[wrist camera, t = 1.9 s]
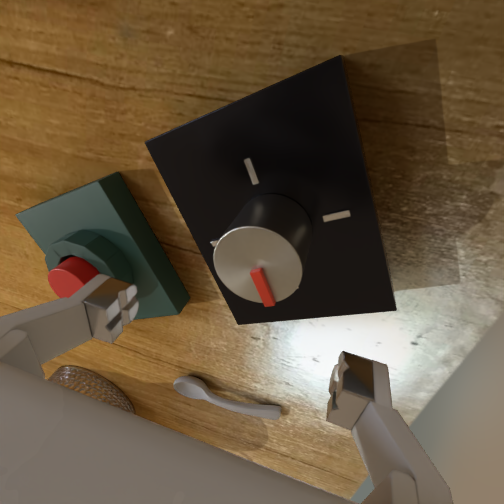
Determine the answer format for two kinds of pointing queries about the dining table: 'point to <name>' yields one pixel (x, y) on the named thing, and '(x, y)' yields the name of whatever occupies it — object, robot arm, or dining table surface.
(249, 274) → the hob knob
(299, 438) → the dining table surface
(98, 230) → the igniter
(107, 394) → the mug
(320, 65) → the hob panel
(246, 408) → the spoon
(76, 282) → the button
